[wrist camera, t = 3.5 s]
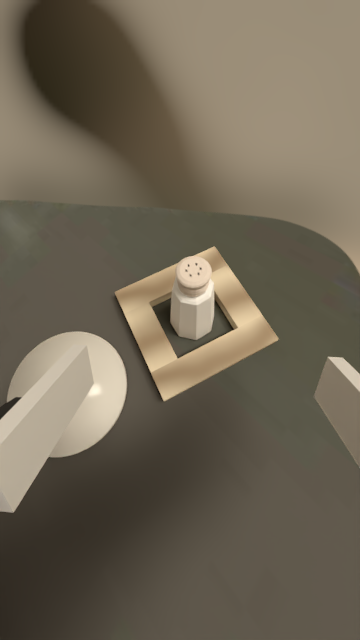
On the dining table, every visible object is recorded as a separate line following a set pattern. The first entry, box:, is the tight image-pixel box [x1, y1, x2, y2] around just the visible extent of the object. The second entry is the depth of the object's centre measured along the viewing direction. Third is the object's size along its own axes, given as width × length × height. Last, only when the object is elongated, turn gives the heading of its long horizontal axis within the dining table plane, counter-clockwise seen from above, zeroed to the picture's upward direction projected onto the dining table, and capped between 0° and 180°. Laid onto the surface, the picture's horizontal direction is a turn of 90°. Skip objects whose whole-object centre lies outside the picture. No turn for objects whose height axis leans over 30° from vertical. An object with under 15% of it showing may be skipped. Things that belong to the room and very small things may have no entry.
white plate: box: [7, 332, 128, 457], centre depth 25 cm, size 13×13×1 cm
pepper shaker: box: [170, 256, 214, 340], centre depth 22 cm, size 5×5×11 cm
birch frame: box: [115, 246, 279, 401], centre depth 26 cm, size 14×14×2 cm
